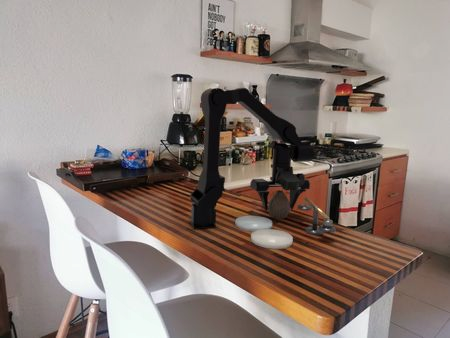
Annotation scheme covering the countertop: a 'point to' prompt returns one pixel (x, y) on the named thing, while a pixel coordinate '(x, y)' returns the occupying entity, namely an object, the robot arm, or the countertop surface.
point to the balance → (326, 222)
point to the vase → (279, 205)
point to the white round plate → (253, 223)
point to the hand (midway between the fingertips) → (278, 209)
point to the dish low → (271, 239)
